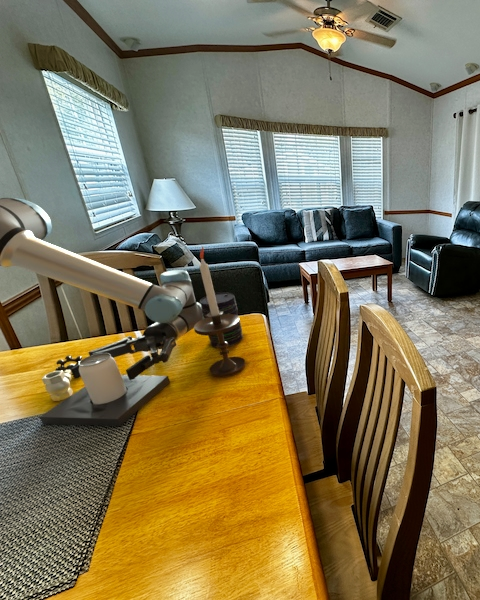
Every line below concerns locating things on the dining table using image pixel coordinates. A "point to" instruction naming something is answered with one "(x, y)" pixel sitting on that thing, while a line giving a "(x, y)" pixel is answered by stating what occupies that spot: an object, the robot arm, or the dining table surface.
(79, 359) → the valve
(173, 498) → the dining table surface
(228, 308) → the storage jar
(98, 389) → the can
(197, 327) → the candlestick
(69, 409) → the plate
